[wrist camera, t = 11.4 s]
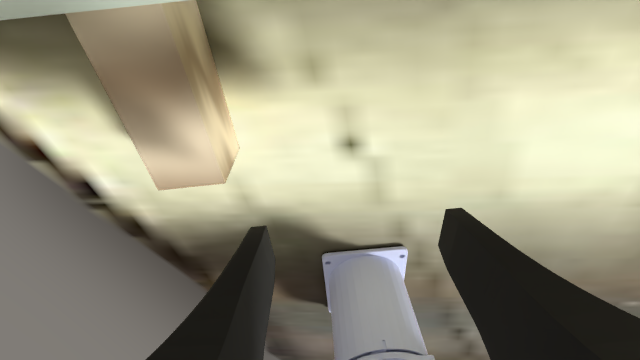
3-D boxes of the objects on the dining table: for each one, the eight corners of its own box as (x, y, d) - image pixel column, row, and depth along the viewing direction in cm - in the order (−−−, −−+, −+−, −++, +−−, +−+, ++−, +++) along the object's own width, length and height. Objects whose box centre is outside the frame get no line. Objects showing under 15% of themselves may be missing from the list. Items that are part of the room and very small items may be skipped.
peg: (240, 146, 20) (225, 183, 17) (185, 152, 20) (158, 190, 17) (175, -74, 14) (125, -99, 10) (94, -64, 14) (13, -84, 10)
